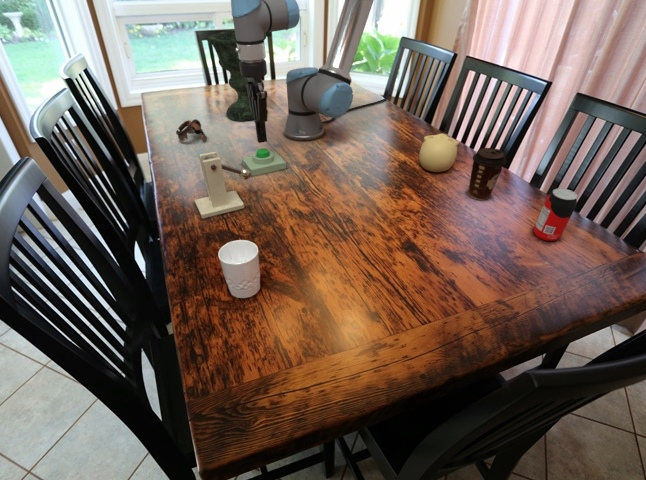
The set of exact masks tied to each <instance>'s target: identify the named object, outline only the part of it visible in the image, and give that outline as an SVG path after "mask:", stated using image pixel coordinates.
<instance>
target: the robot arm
mask: <svg viewBox="0 0 646 480" xmlns="http://www.w3.org/2000/svg"><path fill="white" fill-rule="evenodd" d="M374 2H375V0H344V3H343V6H342V9H341V12H340V15H339V18H338V22H337V25H336V28H335V31H334V35H333V38H332V41H331V45H330V47H329V50H328V54H327V57H326V60H325V64H323V65H322V66H320V67H319V68H318V67H310V66H309V67H307V66H306V67H298V68H294V69H290V70H289V71H287V73H286V76H285V77H286V79H285V85H286V95H287V110H288V114H287V118H286V123H285V127H284V135H285V137H286V138H288V139H290V140H294V141H300V142H302V141H314V140H317V139H320V138H321V137H323V136H324V133H325V127H324V124H329V123H331V122H333V121H334V120H336V119H338V118H340V117H342V116H343V115H345V114H346V113H348V112H350V111H353V110H357V109H361V108H366V107H370V106H374V105H378V104H380V103H383V102H385V101H387V100H388V99H389V98H390V97H391V93H387V95H386V97H385V98H383V99H380V100H377V101H373V102H370V103H365V104H363V105H357V106H353V107H351V106H352V103H353V99H354V94H353V93H354V91H353V88H352V86H351V84H352V77H351V74H350V73H351V70H352V67H353V64H354V61H355V58H356V56H357V52H358V48H359V45H360V43H361V40H362V38H363V37H362V36H363V34H364V31H365V27H366V25H367V22H368V19H369V16H370V13H371V10H372V6H373V4H374ZM230 7H231V16H232V21H233V29H234V31H235V36H236V43H237V48H236V52H238V56H239V59H240V60H241V61H240V62H239V65H240V72H241V75H242V76H243V77H246V78H247V79H248V82H245V85H246V88H247V92H248V97H249V102H250V107H251V112H252V116H254V124H255V132H256V139H257V142H258V144H261V143H266V142H268V137H267V136H268V135H267V128H266V122H268V112H267V111H268V91H267V90H265V83H264V82H263V77H265V76H266V75H267V74H268V67H267V60H266V57H267V56H266V55H267V54H266V46H265V45H266V44H265V40H264V35H263V33H265V34H267V33H272V32H279V31H288V30H290V29H293V28H296V27H297V26H298V25H299V23H300V18H301V15H300V6H299V4H298V2H297V0H230ZM321 116H323V117H325V118H330V119H328V120H322V118H321Z"/></svg>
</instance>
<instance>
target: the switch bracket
mask: <svg viewBox="0 0 646 480" xmlns="http://www.w3.org/2000/svg"><path fill="white" fill-rule="evenodd" d="M217 155H218V154H217V151H211V152H205V153H201V154H198V157H199V162H200V165H201V170H202V174H203V175H202V176H203V179H204V183H205V189H206V192H207V196H205V197H200V198H196V199H194V204H195V206H196V208H197V211H198V213H199V215H200V218H201V219H202V220H203V219H207V218H211V217H215V216H218V215H219V216H220V215H222V214H227V213H231V212H234V211H235V212H236V211H238V210H242V209H243V210H244V209H246V208H245V207H246V206H245V204H244V202H243V201H242V199H241V197H240V196H239V194H238V193H237V191H236V190H230V191H227V187H226V182H225V177H224V171H223V170H224V169H222V165H221V164H222V160H221V158H220V157H219V156H217ZM206 156H209V157H212V158H213V159H208V160H205V158H206Z"/></svg>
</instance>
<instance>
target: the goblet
mask: <svg viewBox="0 0 646 480" xmlns="http://www.w3.org/2000/svg"><path fill="white" fill-rule="evenodd" d="M263 35H264V41H265V40H266V39H267V33H263ZM207 42H208V43H209V44H211V45H212V47H213V48H214V50H215V53H216V55H217V58H218V65H219V66H220V67H221V68H222V69H223V70H225V71H227V72H228V73H229V75H230V76H229V79H228V85H229V87H230V88H231V89H233V90H234V92H235V93H236V94H237V99H236V101H234V102H232V103H231V104H230V105H229V106H228V108H227V110H226V117H227V118H228V119H230V120H232V121H234V122H249V121H253V120H254V116H252V112H251V107H250V102H249V97H248V92H247V88H246V85H245V82H248V79H247V78H246V77H243V76H242V75H241V72H240V65H239V62H240V61H241V60H240V59H239V56H238V52H236V48H237V43H236V36H235V30H227V31H220V32H215V33H212V34H210V35H209V36H207ZM267 113H268V110H267ZM254 121H255V120H254Z"/></svg>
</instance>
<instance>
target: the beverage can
mask: <svg viewBox="0 0 646 480" xmlns="http://www.w3.org/2000/svg"><path fill="white" fill-rule="evenodd" d="M577 198H578V195H577V193H576V192H574V191H573V190H572V189H571V190H570V189H568V188H560V187H559V188H555V189H553V190H552V192H551V193H549V194H548V195H547V197H546V199H545V201H544V204H543V206H542V208H541V210H540V213H539V214H538V217H537V218H536V219H537V220H536V221H535V224H534V227H533V233H534V234H535V236H536V237H537V238H539V239H540V240H542V241H546V242H553V241H557V240H559V239H560V238H561V237H562V235H563V233H564V231H565V229H566V227H567V225H568V223H569V221H570V219H571V217H572V215H573V213H574V212H575V211H574V210H576V207H577V205H578V200H577Z"/></svg>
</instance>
